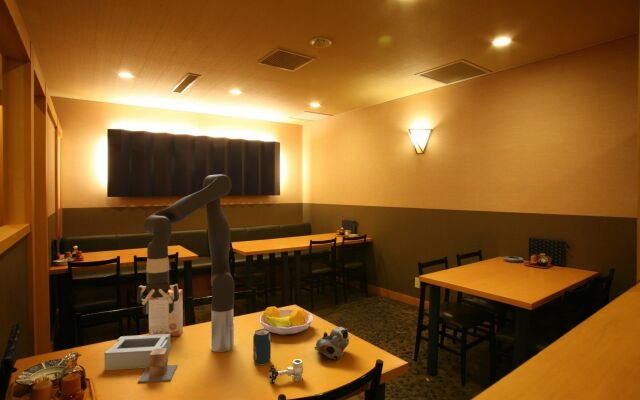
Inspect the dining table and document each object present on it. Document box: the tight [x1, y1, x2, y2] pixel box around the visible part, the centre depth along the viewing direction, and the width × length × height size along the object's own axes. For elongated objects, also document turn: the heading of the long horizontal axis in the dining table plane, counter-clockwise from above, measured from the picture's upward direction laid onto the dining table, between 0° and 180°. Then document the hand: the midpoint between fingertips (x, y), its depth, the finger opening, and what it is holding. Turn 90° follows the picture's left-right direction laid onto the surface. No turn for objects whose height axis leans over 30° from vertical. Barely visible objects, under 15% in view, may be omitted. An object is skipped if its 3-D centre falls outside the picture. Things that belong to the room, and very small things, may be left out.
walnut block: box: [149, 348, 168, 377], centre depth 135 cm, size 5×5×8 cm
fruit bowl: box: [259, 306, 314, 336], centre depth 180 cm, size 28×27×11 cm
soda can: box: [252, 328, 272, 366], centre depth 146 cm, size 7×7×12 cm
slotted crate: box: [103, 334, 172, 371], centre depth 148 cm, size 20×16×7 cm
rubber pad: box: [137, 364, 178, 384], centre depth 136 cm, size 11×11×1 cm
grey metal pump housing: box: [314, 326, 351, 361], centre depth 153 cm, size 15×12×14 cm
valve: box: [268, 358, 304, 385], centre depth 132 cm, size 7×7×12 cm
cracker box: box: [148, 288, 184, 337], centre depth 173 cm, size 14×6×21 cm, turn 95°
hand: (158, 313), depth 135 cm, fingers open, 8 cm apart
